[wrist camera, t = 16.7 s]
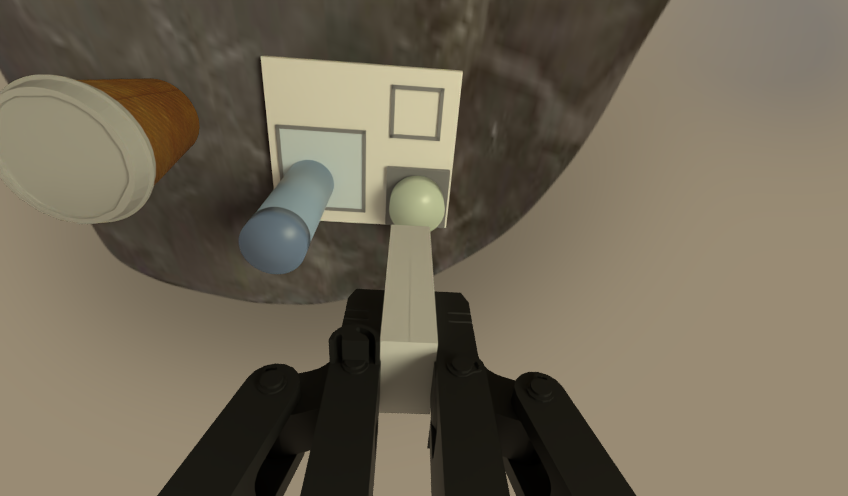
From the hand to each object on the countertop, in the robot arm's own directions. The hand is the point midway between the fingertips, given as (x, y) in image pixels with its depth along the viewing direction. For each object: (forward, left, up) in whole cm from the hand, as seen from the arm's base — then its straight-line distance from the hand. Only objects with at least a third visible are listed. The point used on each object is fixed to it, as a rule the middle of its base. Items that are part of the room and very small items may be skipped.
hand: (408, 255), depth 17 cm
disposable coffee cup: (+1, -21, -23) cm, 31 cm away
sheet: (+2, -4, -23) cm, 24 cm away
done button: (+6, +1, -21) cm, 22 cm away
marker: (+6, -9, -22) cm, 24 cm away
